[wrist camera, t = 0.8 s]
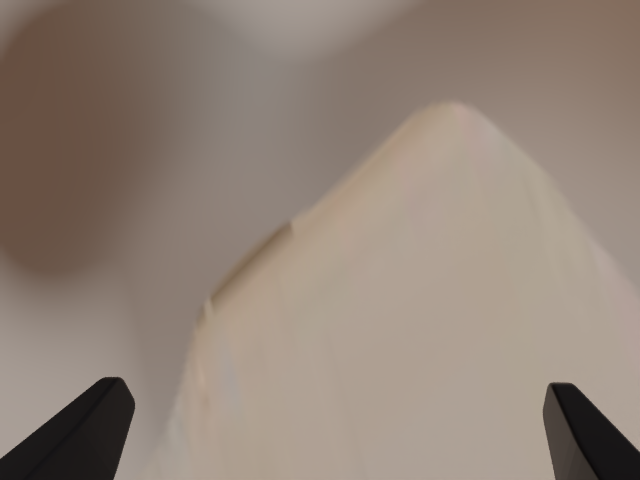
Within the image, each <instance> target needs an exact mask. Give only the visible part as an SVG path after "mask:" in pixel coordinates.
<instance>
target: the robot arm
mask: <svg viewBox="0 0 640 480" xmlns="http://www.w3.org/2000/svg"><path fill="white" fill-rule="evenodd" d="M134 410H135V401H134V398H133V396H132V394H131V393H130V391H129V389H128V387H127V385H126V383H125V382H124V380H123V379H122V378H120V377H105V378H102V379H100V380H99V381H97V382H96V383H95V384H94V385H93V386H91V387H90V388H89V389H87V390H86V391H85V392H84V393H82V394H81V395H80V396H79V397H77V398H76V399H75V400H74V401H72V402H71V403H70V404H69V405H67V406H66V407H65V408H64V409H62V410H61V411H60V412H59V413H57V414H56V415H55V416H54V417H52V418H51V419H50V420H49V421H47V422H46V423H45V424H44V425H42V426H41V427H40V428H39V429H37V430H36V431H35V432H33V433H32V434H31V435H30V436H29V437H27V438H26V439H25V440H23V441H22V442H21V443H20V444H19V445H17V446H16V447H15V448H13V449H12V450H11V451H10V452H9V453H7V454H6V455H5V456H3V457H2V458H1V459H0V480H113V479H114V477H115V474H116V471H117V467H118V464H119V461H120V458H121V454H122V451H123V447H124V444H125V441H126V438H127V434H128V431H129V427H130V424H131V421H132V417H133V414H134ZM543 420H544V425H545V430H546V435H547V440H548V445H549V450H550V455H551V459H552V464H553V469H554V474H555V479H556V480H640V452H639V451H638V450H637V449H636V448H635V447H634V446H633V445H632V443H631V442H630V441H629V440H628V439H627V438H626V437H625V436H624V435H623V434H622V433H621V432H620V431H619V430H618V429H617V428H616V427H615V426H614V425H613V424H612V423H611V422H610V421H609V420H608V419H607V418H606V417H605V416H604V415H603V414H602V413H601V412H600V411H599V410H598V408H597V407H596V406H595V405H594V404H593V403H592V402H591V401H590V400H589V399H588V398H587V397H586V396H585V395H584V394H583V393H582V392H581V391H580V390H579V389H578V388H577V387H576V386H575V385H574V384H572V383H559V382H553V383H550V384H549V385H548V387H547V392H546V397H545V402H544V406H543Z"/></svg>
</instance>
